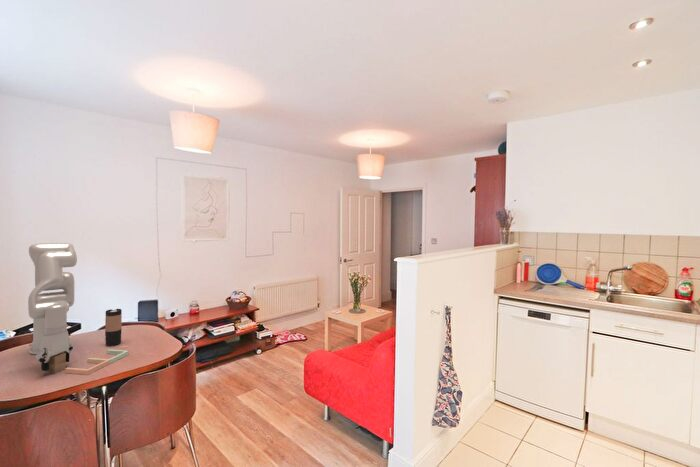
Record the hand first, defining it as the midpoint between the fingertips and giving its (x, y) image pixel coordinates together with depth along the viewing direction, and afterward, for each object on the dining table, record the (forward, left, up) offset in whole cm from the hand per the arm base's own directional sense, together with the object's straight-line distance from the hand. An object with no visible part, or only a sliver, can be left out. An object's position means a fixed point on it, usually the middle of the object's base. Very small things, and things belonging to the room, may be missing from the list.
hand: (55, 365), depth 150 cm
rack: (+12, +11, -2) cm, 16 cm away
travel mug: (-2, +34, -3) cm, 34 cm away
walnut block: (0, 0, -3) cm, 3 cm away
